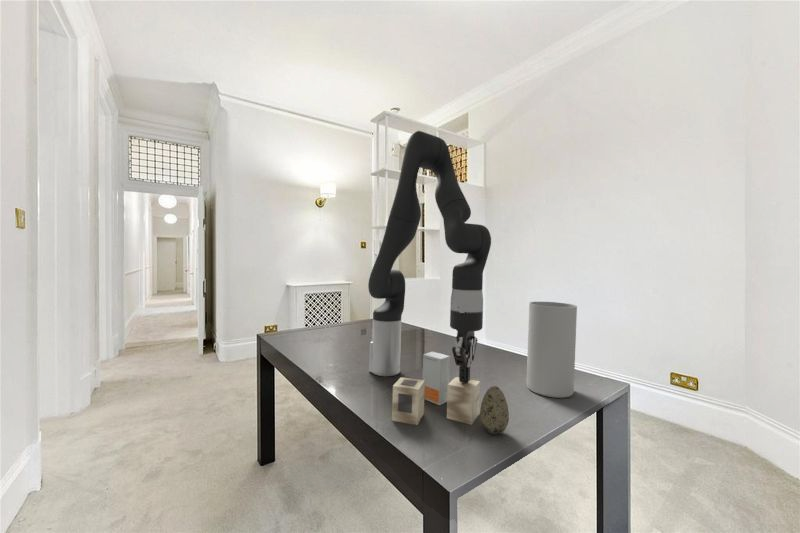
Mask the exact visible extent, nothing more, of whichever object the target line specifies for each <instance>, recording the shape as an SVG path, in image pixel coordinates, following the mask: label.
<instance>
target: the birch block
mask: <svg viewBox="0 0 800 533" xmlns="http://www.w3.org/2000/svg"><path fill="white" fill-rule="evenodd" d="M480 386H481V381H479V380H475V379H470V381H469V382H468V383H463V382H460V381H459V376H455V377H454V378H453V379H452V380H451V381H449V384H448V391H447V402H446V419H447V420H448V419H449V420H451V421H455V422H459V423H464V424H467V425H471V426H472V425H473V424H474V422H476V421H475V420H476V419H477V418H478V416H480V389H481V388H480Z"/></svg>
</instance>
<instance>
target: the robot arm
mask: <svg viewBox="0 0 800 533" xmlns="http://www.w3.org/2000/svg"><path fill="white" fill-rule="evenodd" d="M420 169H423V170H428V171H431V172H433V174H434V176H435V178H436V179H437V183H436V187H435V192H434V196H435V202H436V205H437V208H438V210H439V213H440V214H441V217H442V219H443V228H444V229H443V230H444V239H445V243H446V245H447V247H448V249H449V250H451V251H452V252H454V253H456V254H467V255H466V257H465V258H466V259H465V261H464V262H462V263H458V264H456V265H454V267H453V268H452V269H453V270H452V279H451V282H452V283H451V296H450V308H449V309H450V310H449V311H450V312H449V313H450V316H449V327H450V328H451V329H453V330H456V331H457V332H456V336H455V338H454V343H455V344H454V345H455V346H452V348H451V350H452V355H453V359H454V362H455V365H456V366H457V367H458V366H459V374H458V377H459V381H460V382H463V383H468V382H469V381H470V380H471V366H472V363H473V361H474V360H475V356H476V355H475V354H476V349H477V344H478V338H477V337H476V336H475V332H479V331H481V330H482V329H483V325H484V324H483V323H484V322H483V319H484V315H483V314H484V293H483V284H484V283H483V282H484V280H483V278H484V270H485V266H486V264H487V260H488V258H489V254H490V250H491V248H492V247H491V246H492V236H491V233H490V231H489V229H488V228H487V227H486V226H485V225H482V224H479V223H478V224H476V223H467V221H468V220H469V219H470V217H471V215H472V214H471V213H472V211H471V210H472V209H471V207H470V205H469V203H468V201H467V199H466V196H465V195H464V193H463V191H462V188H461V187H460V184H459V182H458V179H457V176H456V172H455V168H454V164H453V161H452V158H451V153H450V150H449V147H448V145H447V143H446V141H445V140H444V139H443V138H441V137H439V136H437V135H434V134H430V133H428V132H425V131H421V130H415V131H413V132H412V133H411V134H410V136H409V137H408V140H407V142H406V146H405V149H404V154H403V157H402V164H401V168H400V174H399V178H398V183H397V188H396V191H395V196H394V198H393V202H392V206H391V209H390V211H389V216H388V220H387V223H386V227H385V230H384V235H383V238H382V241H381V244H380V248H379V251H378V253H377V256H376V259H375V261H374V263H373V264H374V265H373V267H372V270H371V272H370V275H369V278H368V287H367V288H368V293H369V295H370V296H371V297H372V298H374V299H377V300H378V299H381V300H382V299H385V300H384V302H383V303H382V304H381V305H380V306H378V307H377V308H375V309H374V310H373V311H372V312H373V313H372V338H371V339H372V340H371V341H370V342H369V351H368V352H369V356H368V357H369V359H368V372H370V373H372V374H373V375H376V376H379V377H393V376H397V375H398V374H400V373H401V346H402V345H401V344H402V315H403V312H404V309H405V296H406V279H405V278H406V277H405V275H404V274H403V273H402V271H400V270H398V269H393V266H394V264H395V262H396V261H397V259H398V257H399V256H400V255H401V254H402V253H403V251H405V249H406V248H407V247H408V246H409V245H410V244H411V243H412V241H413V240H414V238H415V236H416V235H417V231H418V228H419V225H420V221H421V219H422V218H421V217H422V210H421V205H420V201H419V197H418V192H417V182H418V181H417V179H418V174H419V170H420Z"/></svg>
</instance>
